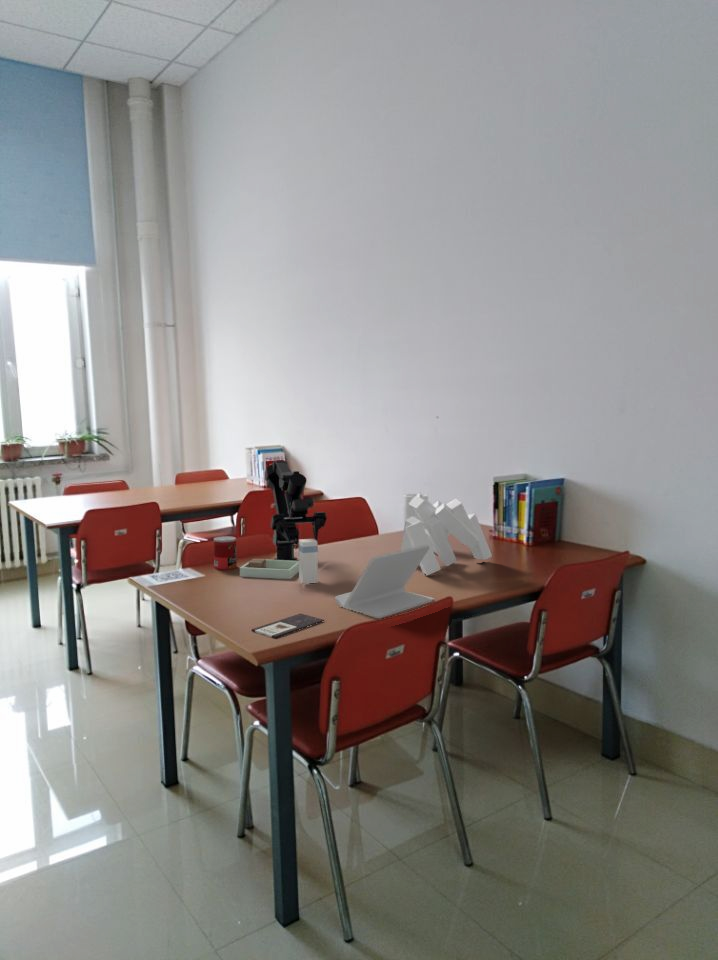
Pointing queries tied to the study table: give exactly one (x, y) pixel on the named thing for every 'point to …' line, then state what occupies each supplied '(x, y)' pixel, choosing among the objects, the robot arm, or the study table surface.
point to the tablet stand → (386, 585)
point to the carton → (308, 561)
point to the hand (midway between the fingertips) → (303, 541)
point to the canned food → (225, 553)
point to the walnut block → (257, 563)
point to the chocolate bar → (286, 625)
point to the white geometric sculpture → (442, 532)
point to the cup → (407, 509)
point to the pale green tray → (272, 569)
